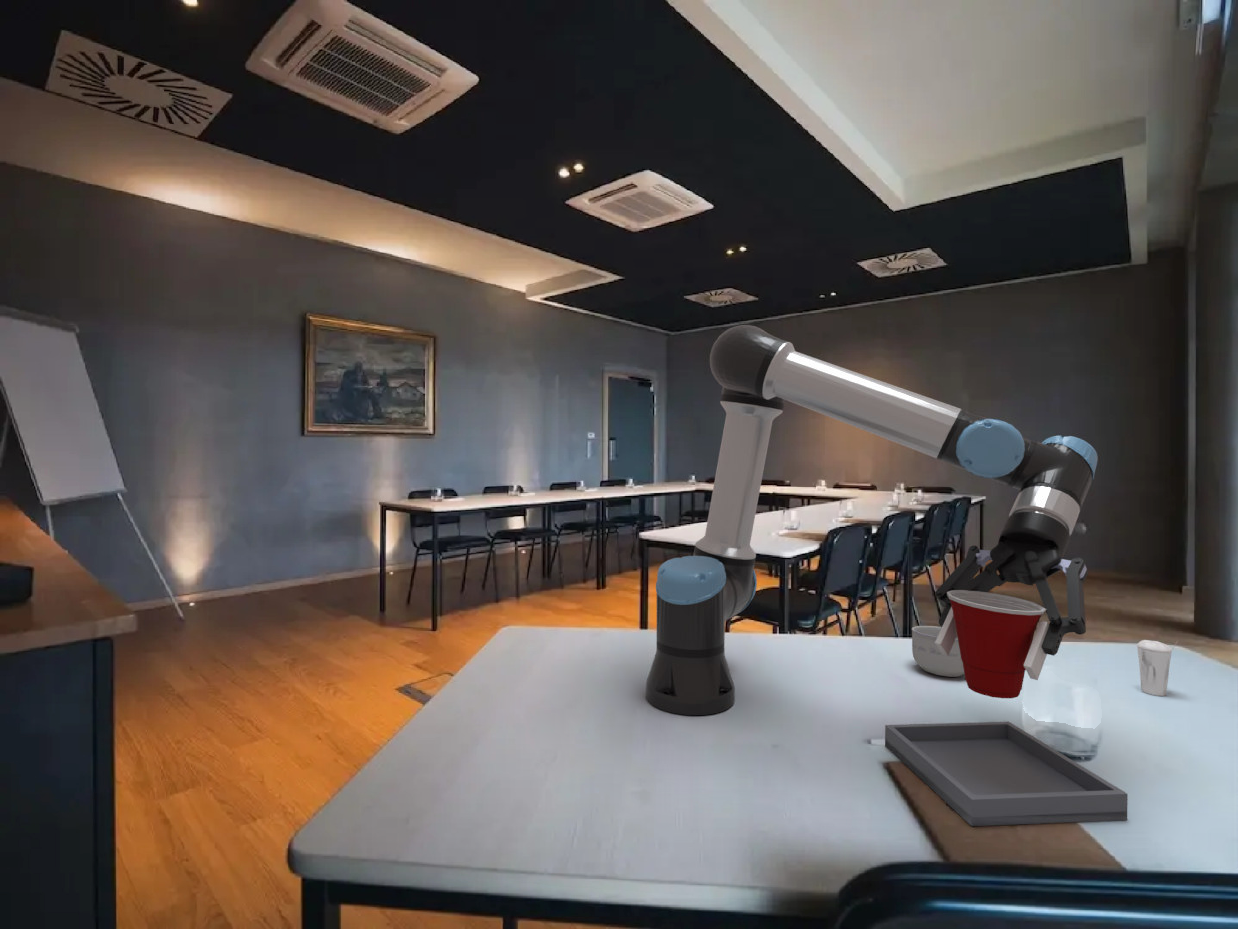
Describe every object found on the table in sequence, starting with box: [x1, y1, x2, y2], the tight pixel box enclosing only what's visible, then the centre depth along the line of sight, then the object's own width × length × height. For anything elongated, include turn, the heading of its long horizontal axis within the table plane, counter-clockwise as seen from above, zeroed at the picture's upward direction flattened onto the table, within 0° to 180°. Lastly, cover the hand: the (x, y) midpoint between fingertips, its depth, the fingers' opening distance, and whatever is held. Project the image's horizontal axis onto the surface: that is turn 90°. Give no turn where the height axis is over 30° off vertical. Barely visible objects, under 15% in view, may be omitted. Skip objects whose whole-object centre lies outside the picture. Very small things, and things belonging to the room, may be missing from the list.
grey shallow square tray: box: [884, 721, 1129, 827], centre depth 76 cm, size 19×19×3 cm
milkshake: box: [1136, 639, 1179, 697], centre depth 104 cm, size 4×5×10 cm
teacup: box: [911, 625, 965, 678], centre depth 113 cm, size 14×11×8 cm
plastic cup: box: [947, 590, 1047, 699], centre depth 76 cm, size 11×11×12 cm
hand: (983, 660), depth 74 cm, fingers closed on plastic cup, 10 cm apart
